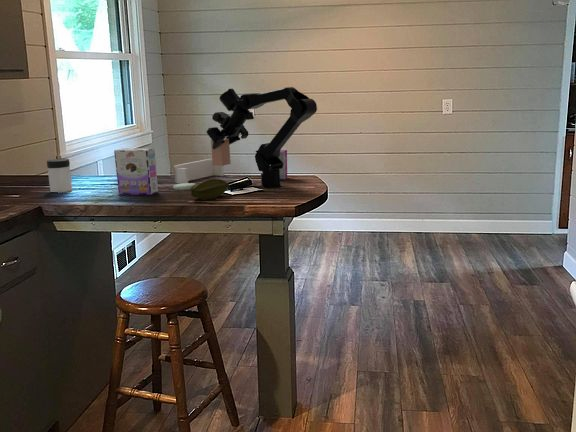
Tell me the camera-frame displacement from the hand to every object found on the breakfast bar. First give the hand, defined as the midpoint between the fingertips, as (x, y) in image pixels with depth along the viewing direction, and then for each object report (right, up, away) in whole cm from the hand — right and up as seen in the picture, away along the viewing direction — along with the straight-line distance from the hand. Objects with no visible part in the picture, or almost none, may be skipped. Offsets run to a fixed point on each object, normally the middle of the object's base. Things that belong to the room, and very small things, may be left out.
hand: (217, 147), depth 247 cm
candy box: (-27, -19, -16) cm, 37 cm away
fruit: (+1, -21, -30) cm, 37 cm away
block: (+1, -7, +1) cm, 7 cm away
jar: (-60, -17, -6) cm, 62 cm away
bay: (-8, -12, +9) cm, 17 cm away
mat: (-11, -16, -9) cm, 22 cm away
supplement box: (+24, -12, +3) cm, 27 cm away
